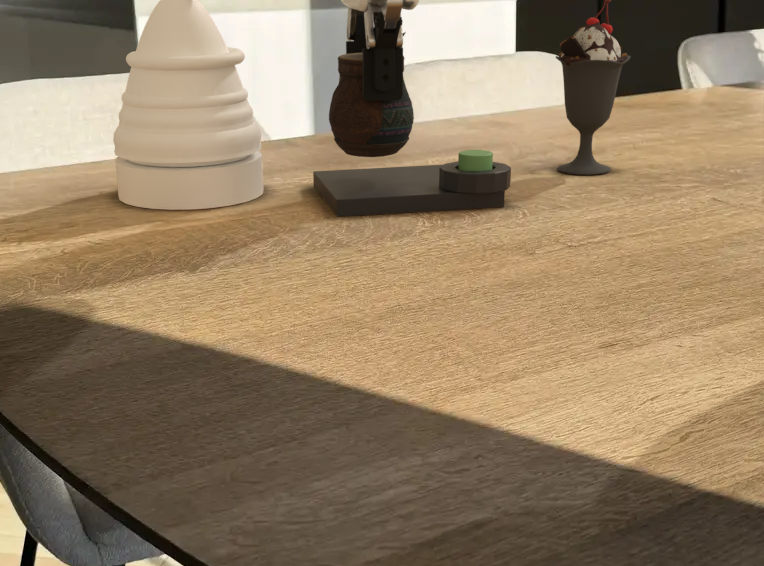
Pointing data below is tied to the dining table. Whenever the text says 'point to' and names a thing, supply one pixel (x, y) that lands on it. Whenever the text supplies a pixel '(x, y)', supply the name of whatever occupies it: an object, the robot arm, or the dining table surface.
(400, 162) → the dining table surface
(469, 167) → the button
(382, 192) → the black green button base
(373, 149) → the mate gourd
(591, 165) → the sundae
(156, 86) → the honey pot
